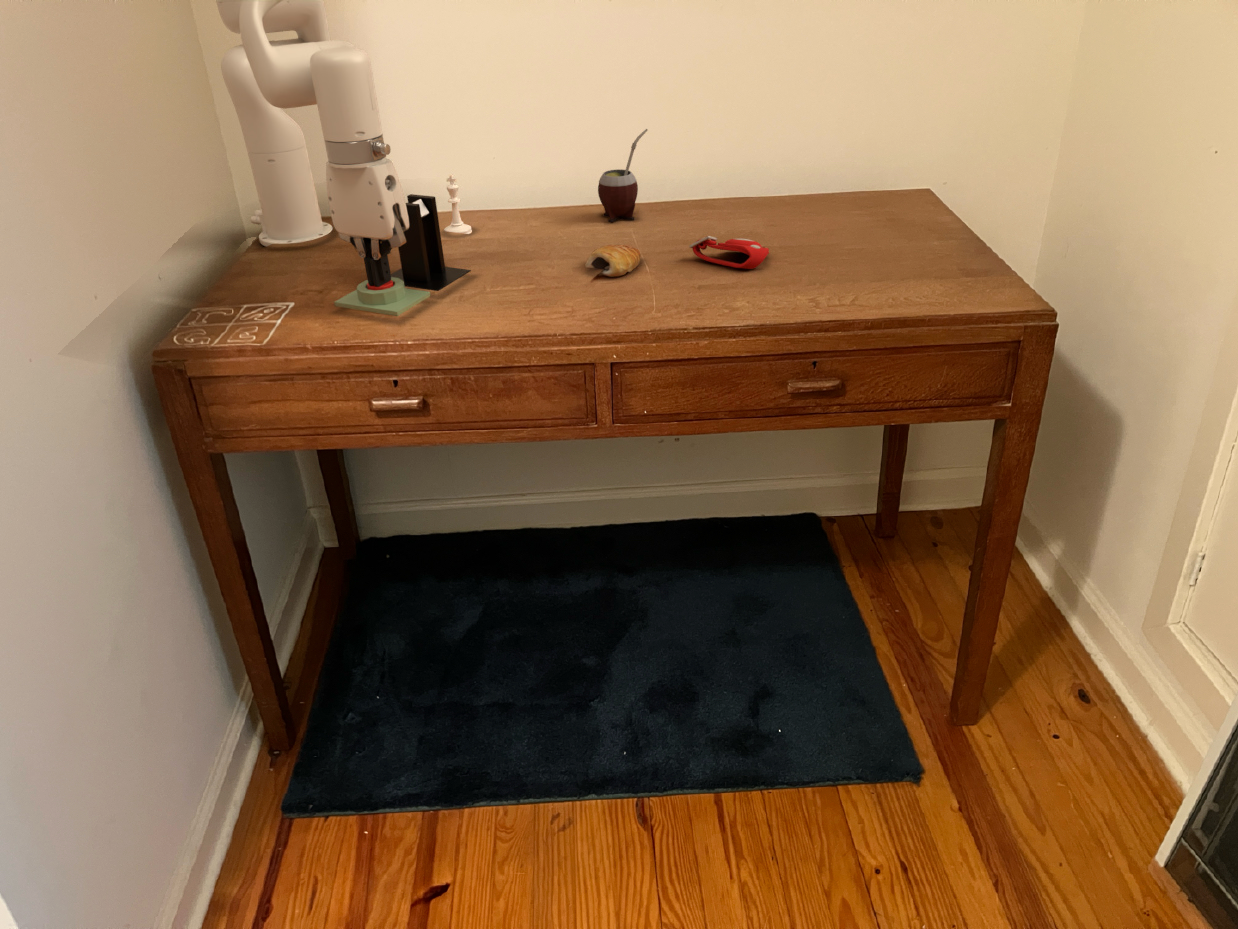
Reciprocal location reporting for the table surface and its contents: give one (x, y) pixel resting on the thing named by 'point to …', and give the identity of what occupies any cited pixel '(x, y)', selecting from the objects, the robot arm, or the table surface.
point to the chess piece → (455, 210)
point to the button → (385, 286)
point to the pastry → (614, 259)
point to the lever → (422, 209)
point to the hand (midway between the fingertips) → (380, 282)
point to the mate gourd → (619, 190)
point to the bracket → (424, 249)
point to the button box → (383, 298)
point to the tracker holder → (740, 245)
